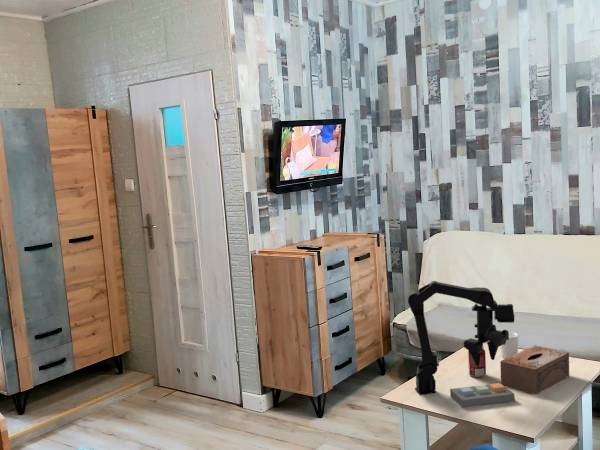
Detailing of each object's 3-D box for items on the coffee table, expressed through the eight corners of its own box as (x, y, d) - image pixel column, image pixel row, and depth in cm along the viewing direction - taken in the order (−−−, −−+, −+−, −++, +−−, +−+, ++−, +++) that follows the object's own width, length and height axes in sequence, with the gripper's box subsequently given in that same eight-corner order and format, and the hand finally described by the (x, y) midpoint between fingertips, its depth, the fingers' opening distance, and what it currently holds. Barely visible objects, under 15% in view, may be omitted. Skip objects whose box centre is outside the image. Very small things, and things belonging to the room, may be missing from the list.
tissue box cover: (535, 395, 225) (535, 369, 224) (501, 385, 236) (500, 361, 235) (569, 376, 241) (568, 352, 240) (535, 368, 252) (534, 345, 251)
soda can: (486, 378, 244) (486, 349, 242) (469, 378, 245) (468, 349, 244) (485, 372, 250) (484, 344, 249) (468, 372, 252) (467, 344, 250)
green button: (479, 397, 221) (478, 389, 221) (474, 393, 225) (474, 386, 225) (489, 396, 222) (489, 388, 222) (484, 392, 226) (484, 384, 225)
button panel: (462, 408, 217) (462, 400, 216) (450, 396, 228) (450, 388, 227) (514, 401, 220) (514, 393, 219) (500, 390, 231) (499, 383, 230)
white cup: (501, 359, 264) (501, 337, 263) (498, 353, 272) (498, 332, 271) (520, 359, 263) (520, 337, 262) (517, 353, 271) (516, 332, 270)
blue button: (463, 399, 220) (463, 391, 220) (459, 395, 224) (458, 387, 224) (473, 398, 221) (473, 390, 221) (469, 394, 225) (469, 386, 225)
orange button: (494, 395, 222) (494, 388, 222) (489, 391, 226) (489, 384, 226) (504, 394, 223) (504, 386, 222) (499, 390, 227) (499, 383, 226)
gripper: (487, 331, 214) (488, 374, 216) (518, 321, 225) (518, 361, 227) (462, 325, 223) (462, 366, 225) (492, 315, 234) (493, 354, 236)
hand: (485, 362), depth 228 cm, fingers open, 9 cm apart
